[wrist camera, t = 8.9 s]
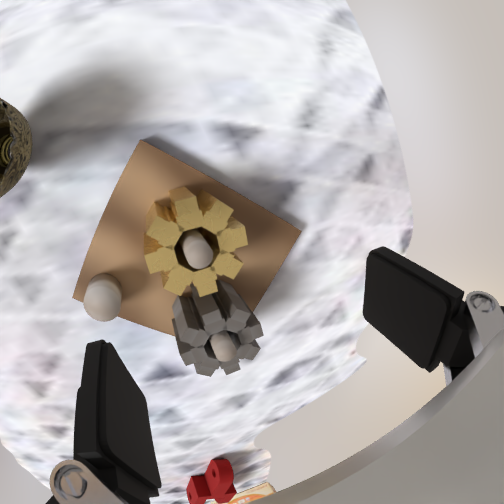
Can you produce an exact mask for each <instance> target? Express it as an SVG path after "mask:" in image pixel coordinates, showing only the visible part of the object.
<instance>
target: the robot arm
mask: <svg viewBox="0 0 504 504" xmlns="http://www.w3.org/2000/svg"><path fill="white" fill-rule="evenodd" d="M463 296H464V291H462V290H461V289H459V288H457V287H456V286H454V285H452V284H451V283H449V282H447V281H445V280H444V279H442V278H440V277H439V276H437V275H435V274H434V273H432V272H430V271H428V270H427V269H425V268H423V267H421V266H419V265H418V264H416V263H414V262H412V261H410V260H409V259H407V258H405V257H403V256H401V255H399V254H398V253H396V252H394V251H392V250H390V249H388V248H386V247H384V246H383V247H379V248H377V249H374V250H372V251H370V253H369V256H368V257H367V261H366V279H365V292H364V304H363V316H364V318H365V320H366V321H367V322H369V323H370V324H371V325H372V326H373V327H375V328H376V329H377V330H378V331H379V332H380V333H382V334H383V335H384V336H385V337H386V338H387V339H388V340H390V341H391V342H392V343H393V344H394V345H395V346H396V347H398V348H399V349H400V350H401V351H402V352H403V353H405V354H406V355H407V356H408V357H409V358H410V359H411V360H412V361H414V362H415V363H416V364H417V365H418V366H419V367H421V368H425V369H426V370H427V371H428V372H432V371H433V370H434V369H435V368H436V367H437V366H439V363H440V361H441V362H442V363H443V366H444V372H445V379H446V387H445V388H444V389H443V390H442V391H441V392H440V393H439V394H437V395H436V396H435V397H434V398H433V399H432V400H430V401H429V402H428V403H427V404H426V405H424V406H423V407H422V408H421V409H420V410H418V411H417V412H416V413H415V414H413V415H412V416H411V417H409V418H408V419H407V420H405V421H404V422H403V423H401V424H400V425H399V426H397V427H396V428H394V429H393V430H392V431H390V432H389V433H387V434H386V435H384V436H383V437H382V438H380V439H379V440H377V441H375V442H374V443H372V444H371V445H370V446H368V447H366V448H365V449H363V450H361V451H360V452H358V453H356V454H355V455H353V456H351V457H350V458H348V459H346V460H344V461H342V462H340V463H339V464H337V465H335V466H333V467H331V468H329V469H327V470H325V471H324V472H321V473H320V474H317V475H316V476H313V477H311V478H309V479H307V480H305V481H303V482H300V483H298V484H296V485H293V486H291V487H289V488H286V489H284V490H281V491H279V492H276V493H274V494H271V495H268V496H266V497H263V498H260V499H257V500H254V501H251V502H248V503H245V504H504V306H499V304H498V302H497V300H496V299H495V298H494V297H493V296H491V295H490V294H488V293H485V292H482V291H473V292H471V293H469V294H468V295H467V297H466V301H465V302H464V301H462V298H463ZM50 488H51V491H52V493H53V496H52V497H51V498H50V499H49V500H48V502H47V503H46V504H150V500H149V498H150V497H157V496H159V492H158V488H161V480H160V475H159V471H158V466H157V462H156V457H155V452H154V446H153V441H152V435H151V429H150V423H149V416H148V409H147V402H146V399H145V396H144V394H143V393H142V391H141V390H140V388H139V387H138V385H137V384H136V382H135V381H134V379H133V378H132V376H131V375H130V373H129V371H128V370H127V368H126V367H125V365H124V363H123V362H122V360H121V359H120V357H119V355H118V353H117V352H116V350H115V348H114V347H113V345H112V344H111V343H110V342H109V343H106V342H105V341H104V340H99V341H95V342H91V343H88V344H87V346H86V352H85V358H84V365H83V372H82V380H81V387H80V388H79V389H78V392H77V400H76V411H75V426H74V460H65V461H62V462H60V463H59V464H57V465H56V466H55V468H54V469H53V470H52V473H51V476H50Z"/></svg>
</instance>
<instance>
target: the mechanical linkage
mask: <svg viewBox="0 0 504 504" xmlns="http://www.w3.org/2000/svg"><path fill="white" fill-rule="evenodd" d="M233 479H234V475H233V469H232V466H231V464H230V462H229V461H228V460H227V459H218V460H211V462H210V464H209V466H208V468H207V470H206V472H205V474H204V475H202V476H191V478H190V481H189V483H188V486H187V489H186V490H187V497H188V500H189V503H190V504H204V503H205V501H206V499H215V500H216V502H217V503H218V504H223V503H229V502H230V500H231V499H232V498H233V497H234V495H235V494H236V493H237V492H236V490H235V487H234V485H233Z"/></svg>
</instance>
